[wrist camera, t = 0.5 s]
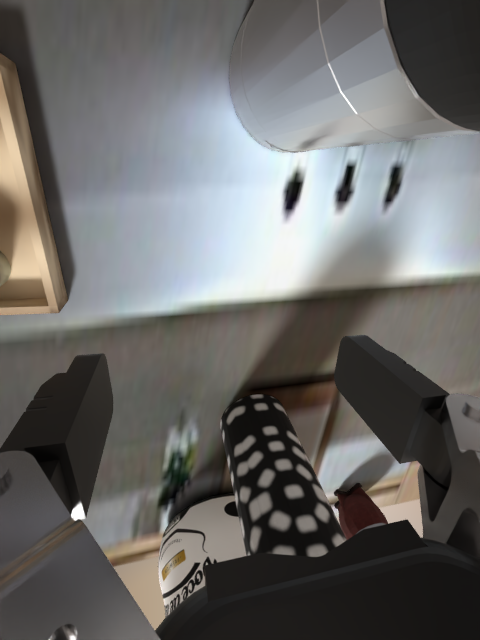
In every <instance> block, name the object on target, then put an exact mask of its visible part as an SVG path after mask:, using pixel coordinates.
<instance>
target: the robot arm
mask: <svg viewBox="0 0 480 640" xmlns="http://www.w3.org/2000/svg"><path fill="white" fill-rule="evenodd" d="M229 84H230V92H231V98H232V102H233V105H234V108H235V112H236V114H237V116H238V118H239V120H240V122H241V124H242V126H243V127H244V128H245V129H246V131H247V132H248V133H249V135H250V136H251V137H252V138H253V139H255V140H256V141H257V142H258V143H259V144H261V145H262V146H264V147H266V148H268V149H271V150H274V151H278V152H294V153H295V152H299V151H300V152H304V151H310V150H320V149H330V148H340V147H350V146H360V145H370V144H380V143H390V142H400V141H410V140H420V139H429V138H439V137H449V136H459V135H469V134H479V133H480V0H254V3H253V5H252V6H251V8H250V10H249V12H248V14H247V16H246V18H245V20H244V21H243V23H242V25H241V27H240V29H239V32H238V34H237V37H236V39H235V42H234V44H233V49H232V53H231V58H230V66H229ZM334 378H335V384H336V386H337V388H338V390H339V391H340V393H341V394H342V395H343V396H344V397H345V399H346V400H347V401H348V402H349V403H350V405H351V406H352V407H353V408H354V409H355V411H356V412H357V413H358V414H359V415H360V417H361V418H362V419H363V420H364V421H365V423H366V424H367V425H368V426H369V427H370V429H371V430H372V431H373V432H374V433H375V435H376V436H377V437H378V438H379V439H380V441H381V442H382V443H383V444H384V445H385V447H386V448H387V449H388V450H389V451H390V453H391V454H392V455H393V456H394V457H395V459H396V460H397V461H398V462H399V463H400V464H401V463H406V462H412V461H418V462H419V463H420V464H421V465H420V467H419V470H418V484H419V494H420V504H421V514H422V524H423V538H420V537H419V535H418V534H417V532H416V531H415V530H414V528H413V527H412V525H411V524H410V523H409V521H408V520H403V521H399V522H394V523H390V524H385V525H381V526H376V527H372V528H367V529H363V530H362V531H360V532H358V533H357V534H355V535H354V536H352V537H351V538H349V539H348V540H346V541H345V542H343V543H342V544H340V545H339V546H337V547H335V548H334V549H332V550H331V551H329V552H328V553H326V554H325V555H323V556H319V557H310V556H297V555H283V554H270V553H257V554H253V555H248V556H244V557H240V558H235V559H231V560H226V561H222V562H218V563H213V564H209V565H205V586H204V587H202V588H200V589H199V590H197V591H195V592H194V593H192V594H191V595H190V596H189V597H187V598H186V599H185V600H184V601H182V602H181V603H180V604H179V605H178V606H177V607H176V608H175V609H174V610H173V611H172V612H171V613H170V614H169V615H168V616H167V617H166V618H165V619H164V620H163V622H162V623H161V624H160V625H159V627H158V628H157V629H156V630H154V629H153V627H152V626H151V624H150V623H149V621H148V620H147V618H146V617H145V615H144V613H143V612H142V611H141V609H140V607H139V606H138V604H137V603H136V601H135V600H134V598H133V597H132V595H131V594H130V592H129V591H128V589H127V588H126V586H125V585H124V583H123V581H122V580H121V578H120V577H119V576H118V574H117V572H116V571H115V569H114V568H113V566H112V565H111V563H110V562H109V560H108V559H107V557H106V555H105V554H104V552H103V551H102V549H101V548H100V546H99V545H98V543H97V542H96V540H95V539H94V537H93V536H92V534H91V533H90V531H89V530H88V528H87V527H86V525H85V524H84V523H83V522H82V521H81V519H86V516H87V512H88V508H89V504H90V500H91V496H92V492H93V489H94V485H95V481H96V477H97V473H98V469H99V465H100V461H101V457H102V453H103V449H104V445H105V442H106V438H107V434H108V430H109V426H110V422H111V418H112V413H113V394H112V388H111V383H110V377H109V371H108V365H107V360H106V356H105V354H90V355H77V356H76V357H75V358H74V360H73V362H72V364H71V365H70V367H69V369H68V371H67V373H58V374H56V375H54V376H53V377H52V378H50V379H49V380H48V381H46V382H45V383H44V384H43V385H42V386H41V387H40V389H39V390H38V392H37V393H36V395H35V396H34V400H32V401H31V402H30V404H29V405H28V407H27V409H26V412H24V413H23V415H22V416H21V418H20V419H19V421H18V422H17V424H16V425H15V427H14V428H13V430H12V431H11V433H10V435H9V436H8V438H7V439H6V441H5V442H4V444H3V445H2V447H1V448H0V640H480V398H479V397H476V396H472V395H468V394H458V393H457V394H451V395H450V394H449V393H447V392H446V391H445V390H443V389H442V388H441V387H439V386H438V385H437V384H435V383H434V382H432V381H431V380H430V379H428V378H427V377H426V376H424V375H423V374H422V373H420V372H419V371H416V369H415V368H413V367H412V366H411V365H409V364H406V362H405V361H404V360H403V359H401V358H400V357H399V356H397V355H396V354H394V353H392V352H390V351H388V350H385V349H384V348H383V347H381V346H380V345H379V344H377V343H376V342H375V341H373V340H372V339H371V338H369V337H368V336H366V335H357V336H345V337H343V338H342V340H341V343H340V347H339V352H338V358H337V363H336V368H335V374H334ZM75 520H76V521H75Z"/></svg>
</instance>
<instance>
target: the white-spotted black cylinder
mask: <svg viewBox="0 0 480 640" xmlns="http://www.w3.org/2000/svg"><path fill="white" fill-rule="evenodd" d="M220 425H221V432H222V437H223V442H224V447H225V452H226V457H227V462H228V467H229V472H230V477H231V482H232V487H233V491H234V496H235V501H236V506H237V511H238V516H239V521H240V526H241V531H242V536H243V541H244V546H245V551H246V556H248V555H253V554H257V553H270V554H283V555H297V556H310V557H319V556H323V555H325V554H326V553H328V552H329V551H331V550H332V549H334V548H335V547H337V546H339V545H340V544H342V543H343V542H345V541H346V540H347V539H346V537H345V535H344V533H343V531H342V529H341V527H340V525H339V523H338V521H337V518H336V516H335V514H334V512H333V510H332V508H331V506H330V504H329V502H328V500H327V497H326V495H325V493H324V491H323V489H322V487H321V485H320V483H319V481H318V479H317V477H316V474H315V472H314V470H313V468H312V466H311V464H310V462H309V460H308V458H307V456H306V454H305V452H304V449H303V447H302V445H301V443H300V441H299V439H298V437H297V435H296V433H295V431H294V429H293V426H292V424H291V422H290V420H289V418H288V416H287V414H286V412H285V410H284V408H283V406H282V404H281V403H280V401H279V400H277V399H276V398H274V397H272V396H269V395H263V394H257V395H250V396H247V397H244V398H242V399H240V400H238V401H236V402H235V403H233V404H232V405H231V406H230V407H229V408H228V409H227V410H226V411H225V413H224V414H223V416H222V418H221V423H220Z"/></svg>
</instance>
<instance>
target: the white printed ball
mask: <svg viewBox="0 0 480 640" xmlns="http://www.w3.org/2000/svg"><path fill="white" fill-rule="evenodd" d="M244 556H246V551H245V546H244V541H243V536H242V531H241V526H240V521H239V516H238V511H237V506H236V501H235V496H234V494H232V493H229V494H224V495H217V496H211V497H209V498H206V499H204V500H201V501H198V502H196V503H194V504H192V505H191V506H189V507H188V508H186V509H185V510H183V511H182V512H180V513H179V514H178V515H177V516H176V517H175V518H174V519H173V520H172V521H171V522H170V524H169V525H168V526H167V528H166V530H165V532H164V535H163V538H162V542H161V547H160V553H159V563H158V570H159V571H158V572H159V580H160V586H161V591H162V594H163V600H164V606H165V617H167V616H168V615H169V614H170V613H171V612H172V611H173V610H174V609H175V608H176V607H177V606H178V605H179V604H180V603H181V602H182V601H184V600H185V599H186V598H187V597H189V596H190V595H191V594H192V593H194V592H195V591H197V590H199V589H200V588H202V587H204V586H205V565H209V564H213V563H218V562H222V561H226V560H231V559H235V558H240V557H244Z"/></svg>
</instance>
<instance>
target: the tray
mask: <svg viewBox="0 0 480 640" xmlns="http://www.w3.org/2000/svg"><path fill="white" fill-rule="evenodd" d="M67 301H68V298H67V293H66V289H65V284H64V280H63V275H62V271H61V266H60V262H59V257H58V253H57V248H56V244H55V239H54V235H53V230H52V226H51V221H50V217H49V212H48V208H47V203H46V199H45V194H44V190H43V185H42V181H41V176H40V172H39V167H38V163H37V158H36V154H35V149H34V145H33V140H32V136H31V131H30V127H29V122H28V118H27V114H26V109H25V105H24V100H23V96H22V91H21V87H20V82H19V78H18V73H17V69H16V64H15V63H14V62H13V61H11V60H10V59H8V58H7V57H5V56H4V55H2V54H1V53H0V315H13V314H41V313H59V312H60V311H61V309H62V308H63V307H64V305H65V304H66V303H67Z"/></svg>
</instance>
